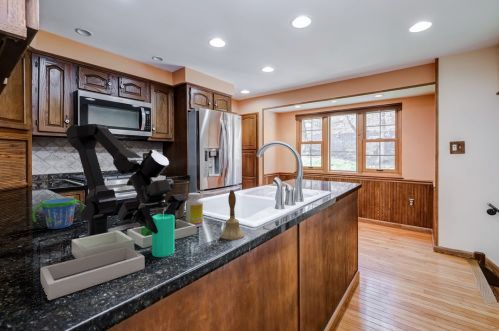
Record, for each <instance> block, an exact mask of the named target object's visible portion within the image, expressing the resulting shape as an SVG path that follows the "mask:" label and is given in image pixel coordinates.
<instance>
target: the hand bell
mask: <svg viewBox="0 0 499 331" xmlns="http://www.w3.org/2000/svg"><path fill="white" fill-rule="evenodd" d="M227 200H228V206H229V218H228V219H226V220H225V226H224V229H223V231H222V232H221V233H220V235H219V237H220V238H221V239H224V240H227V241H228V240H229V241H233V240H240V239H243V238H244V237H245V234H244V232H243V231H242V230H241V226H240V223H239V220H238V219H237V218H236V217H235V216H236V215H235V207H236V203H237V202H236V201H237V198H236V194H235V190H234V189H233V190H231V189H230V190H229V194H228V199H227Z"/></svg>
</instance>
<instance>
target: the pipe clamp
mask: <svg viewBox="0 0 499 331" xmlns="http://www.w3.org/2000/svg"><path fill="white" fill-rule="evenodd" d="M141 227H142V228H141V235H143V236H149V235H152V231H150V230H149V229H147V228H146V227H143V226H141Z"/></svg>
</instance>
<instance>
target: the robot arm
mask: <svg viewBox="0 0 499 331" xmlns="http://www.w3.org/2000/svg"><path fill="white" fill-rule="evenodd" d="M65 135H66V137H67V139H68V141H69V144H70V146H72V148H74V149H75V150H76V151H77V152H78V156H79V159H80V163H81V166H82V169H83V173H84V177H85V181H86V184H87V185H86V186H87V188H88V193H87V195H86V197H85V198H86V199H85V203H86V205H85V206H84V209H83V210H82V212H81V211H80V212H81V213H79V215H80V218H81V220H82V221H88V222H87V223H88V227H87V228H88V232H86V233H85V234H84V236H85V237H88V236H93V235H99V234H104V233H109V232H110V231H109V217H111V216H112V217H113V216H115V212H116V209H117V206H118V198H117V197H116V193H115V192H116V191H115V190H114V189H113V188H111V189H109V188H108V187H107V186H106V183H105V179H104V176H103V173H102V169H101V166H100V161H99V158H98V155H97V151H96V146H97V144H98V142H99V144H100V145H101V147H103V149H105V151H106V152H108V154H109V155H110V156H111V157H112V160H113V161H112V163H113V165H114V168H115V169H116V170H117V172H118V173H119V174H121V175H129V174H131V176H130V177H129V178H128V181H127V182H126V186H127V187H133V189H134V191H135V193H136V196H135V200H127V201H126V200H125V201H124V202H123V203H122V205H121V207H120V208H119V210H118V213H117V217H118V219H119V221H120V222H123V223H124V222H127V221H131V222H133V223H137V224H140V225H141V226H142V227H143V226H144V227H146V228H147V229H149V230H150V231H152V232H153V233H154V234H157V233H158V230H157V227H156V225H155V223H154V221H153V219H152V215H151V211H156V209H161V208H163V209H164V211H165V212H164V214H169V215H174V216H175V211H178V210H179V209H180V208H181V206H182V205H183V204H184V202H185V203H186V201H187V200H186V199H187V198H186V199H185V197H184V196H183V195H182V194H179V195H171V197H170V198H169V200H168V201H163V198H165V197H166V195H165V194H166V193H167V192H170V191H171V190H172V189H174V188H175V185H174V182H173V181H172V180H173V179H172V178H166V179H163V180H155V182H154V178H155V179H157V178H158V177H159V176H160V175H161V173H163V171H164V170H165V169H166V168H167V167H168V166H169V165H170V161H169V159H168V158H167V157H166V156H165V155H163V154H162V153H160V152H158V150H156V149H150V150H149V151H148V153H147V155H146V156H145V158H143V157H142V156H140V155H139V154H138V153H136V152H134V151H132V150H130V149H128V148H126V147H125V146H124V145H123V143H122V142H121V141H119V139H118V138H117V136H115V135H114V134H113V133H112V132H111V130H109V127H108V126H106V125H104V124H99V123H90V124H83V125H81V124H80V125H77V124H71V125H70V126H69V127H68V128H66V131H65ZM176 220H177V219H176V218H175V228H176ZM176 229H177V228H176Z"/></svg>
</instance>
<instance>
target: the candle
mask: <svg viewBox="0 0 499 331" xmlns="http://www.w3.org/2000/svg"><path fill="white" fill-rule="evenodd" d="M151 217H152V219H153V221H154V223H155V225H156V227H157V230H158V233H157V234H154V233H153V232H152V246H151V251H152V252H151V254H152V256H153V257H156V258H165V257H169V256H171V255H173V254H174V253H175V251H176V249H175V242H176V241H175V240H176V239H175V216H174V215H169V214H164V211H163V214H156V213H155V215H151Z"/></svg>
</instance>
